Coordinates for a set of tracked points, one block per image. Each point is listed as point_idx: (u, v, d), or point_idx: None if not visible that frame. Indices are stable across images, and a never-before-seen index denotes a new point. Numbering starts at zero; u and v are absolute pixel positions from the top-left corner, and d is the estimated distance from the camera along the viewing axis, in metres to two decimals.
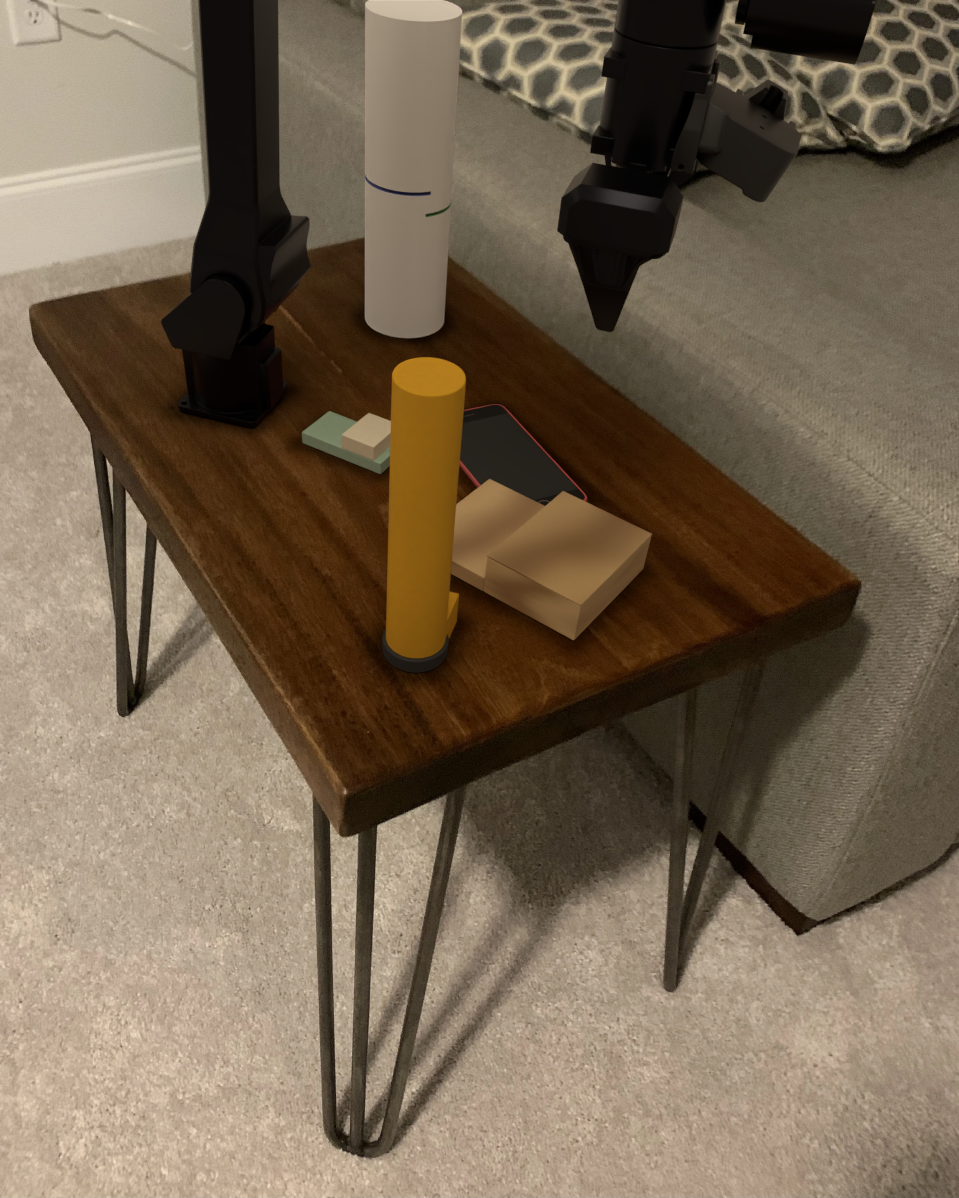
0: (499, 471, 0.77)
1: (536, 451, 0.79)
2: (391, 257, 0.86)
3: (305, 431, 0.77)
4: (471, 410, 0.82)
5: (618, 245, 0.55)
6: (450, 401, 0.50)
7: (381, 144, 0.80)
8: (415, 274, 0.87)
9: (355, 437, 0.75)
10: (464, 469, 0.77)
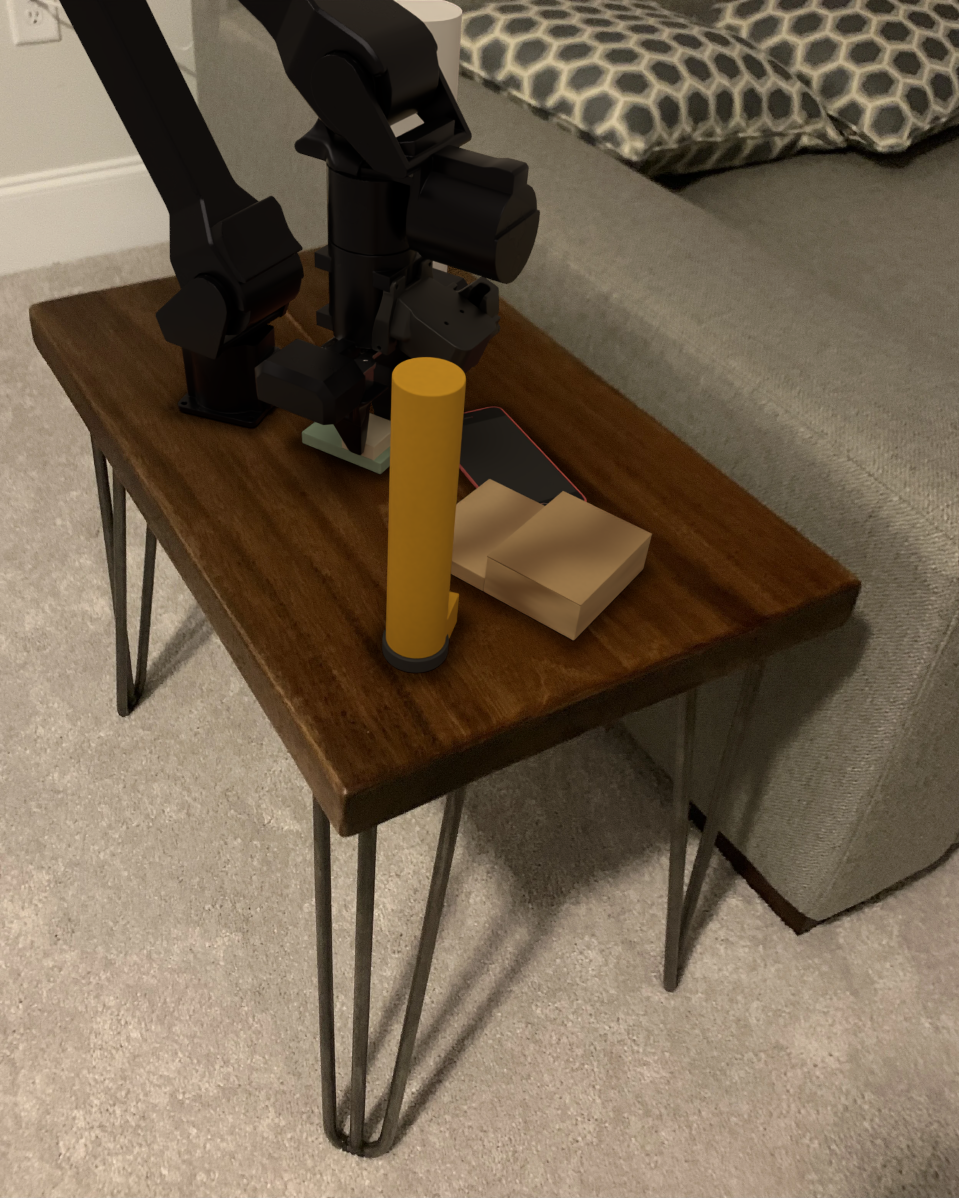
0: (498, 474, 0.77)
1: (535, 453, 0.79)
2: None
3: (305, 431, 0.77)
4: (469, 413, 0.82)
5: (295, 413, 0.65)
6: (450, 401, 0.50)
7: None
8: None
9: None
10: (463, 472, 0.77)
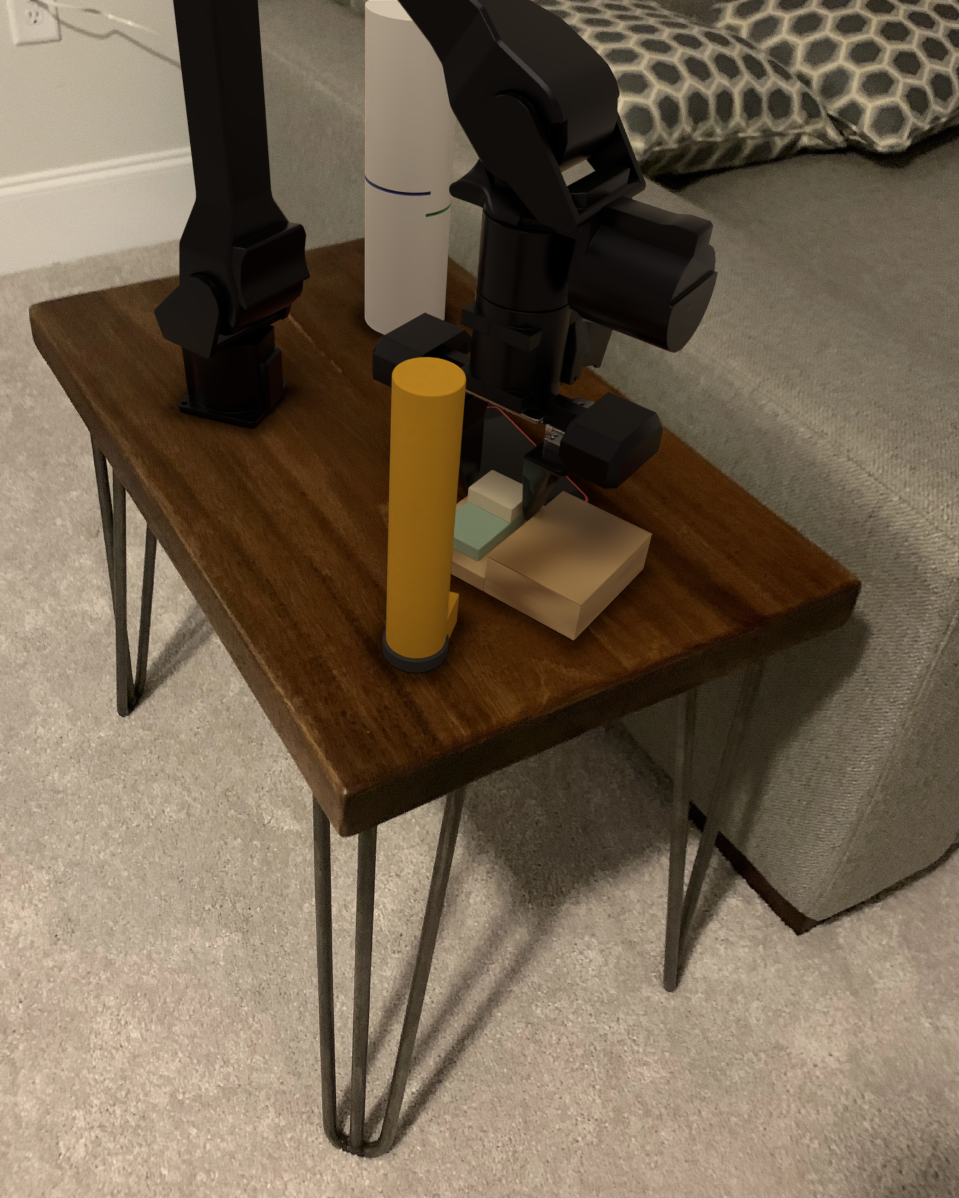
0: None
1: None
2: (391, 257, 0.86)
3: (478, 546, 0.67)
4: None
5: (641, 464, 0.62)
6: (450, 401, 0.50)
7: (381, 144, 0.80)
8: (415, 274, 0.87)
9: (518, 500, 0.69)
10: None
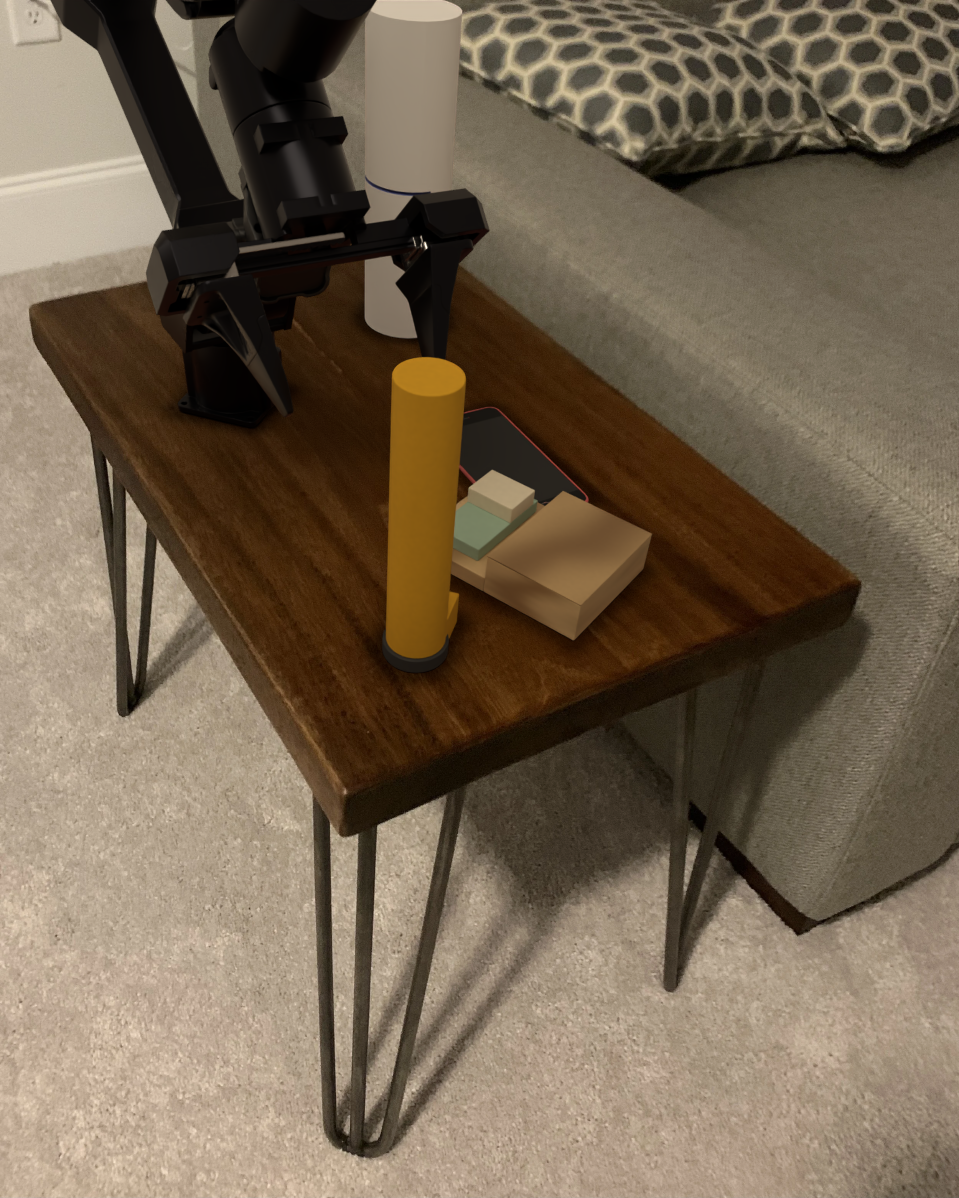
0: None
1: (534, 453, 0.79)
2: None
3: (478, 546, 0.67)
4: (466, 413, 0.82)
5: None
6: (450, 401, 0.50)
7: (381, 144, 0.80)
8: None
9: (518, 500, 0.69)
10: (464, 473, 0.77)
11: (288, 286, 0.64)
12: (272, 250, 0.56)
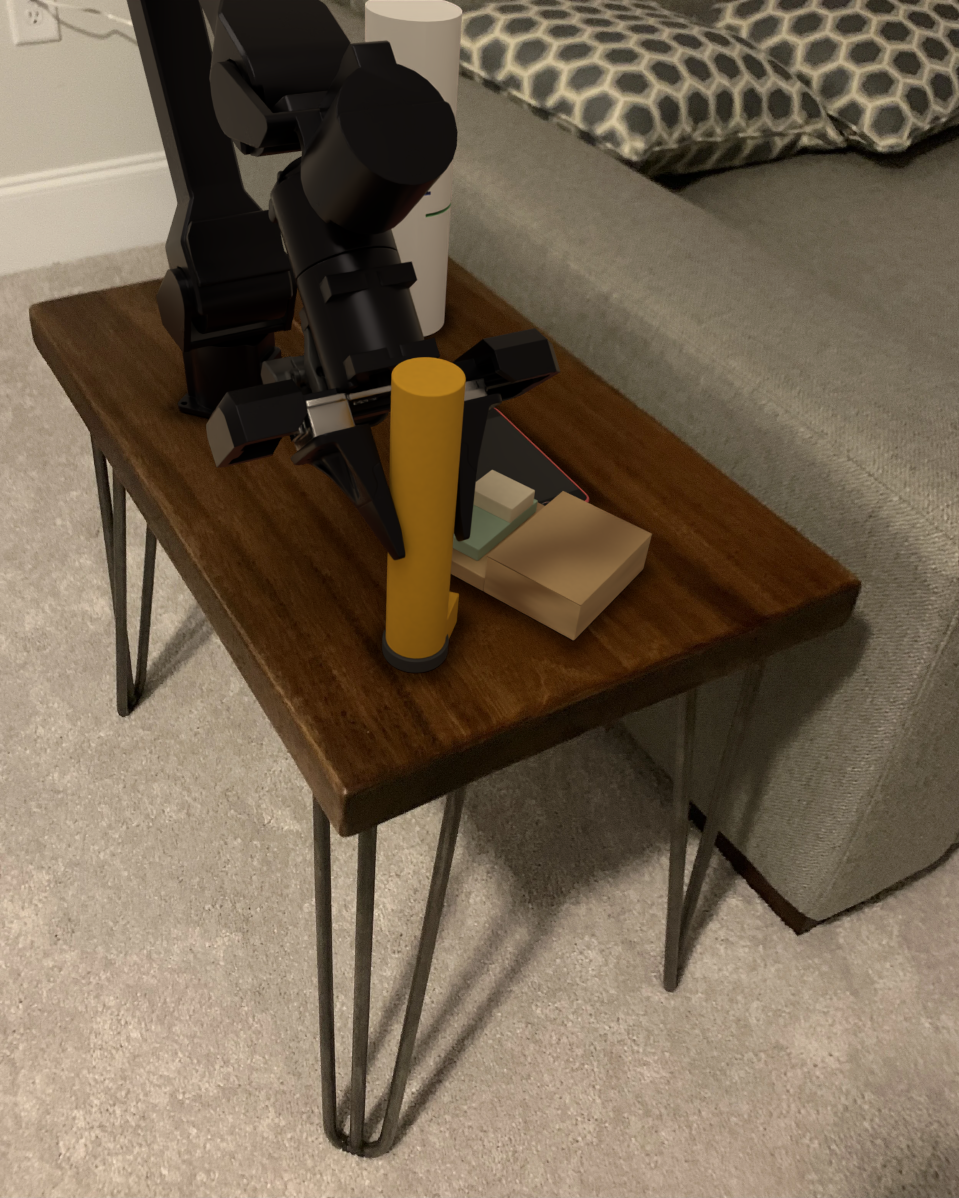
0: None
1: (534, 453, 0.79)
2: None
3: (478, 546, 0.67)
4: None
5: (536, 384, 0.60)
6: (450, 401, 0.50)
7: None
8: None
9: (518, 500, 0.69)
10: None
11: None
12: None
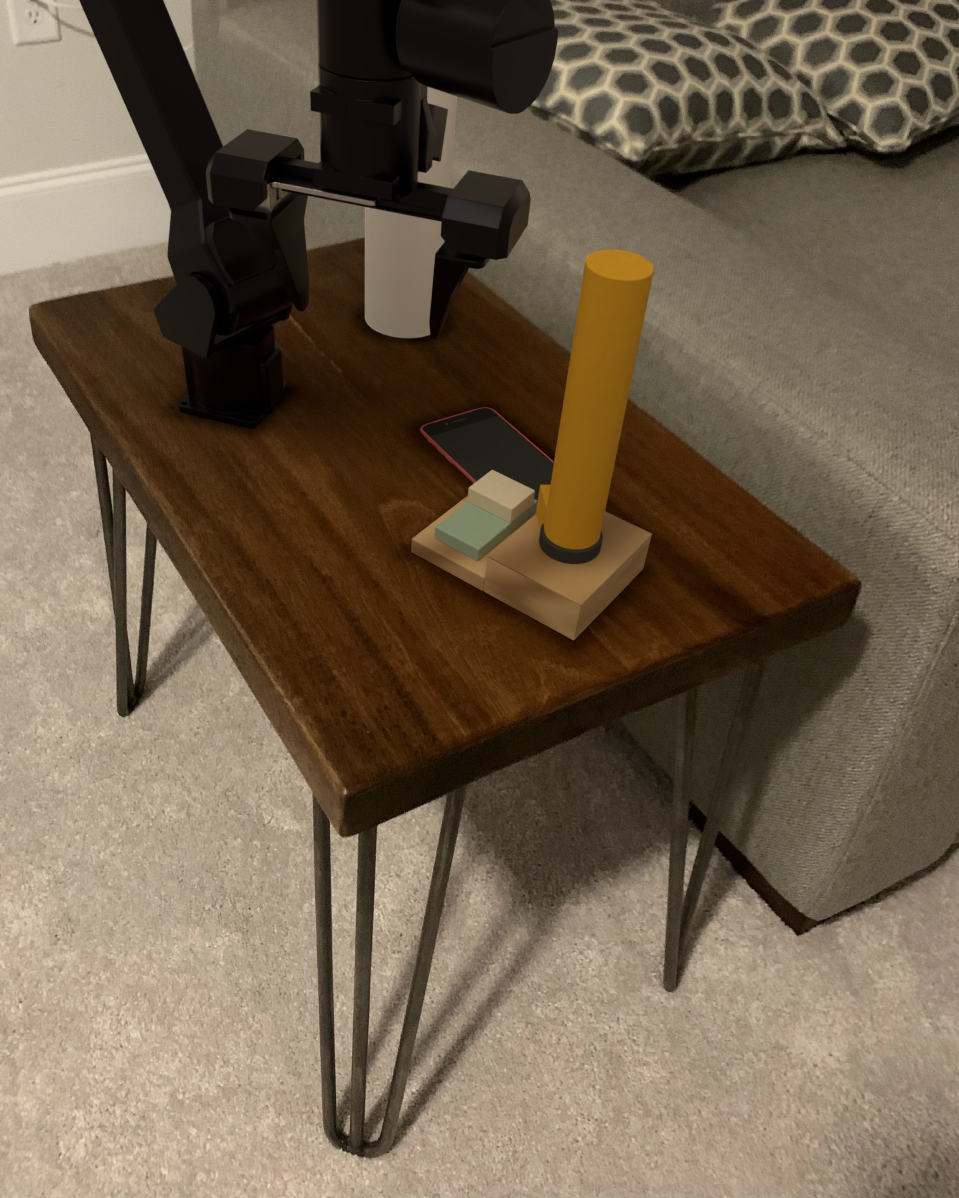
0: None
1: (533, 452, 0.79)
2: (391, 257, 0.86)
3: (478, 546, 0.67)
4: (461, 415, 0.82)
5: (519, 236, 0.62)
6: (649, 282, 0.54)
7: None
8: (415, 274, 0.87)
9: (518, 500, 0.69)
10: (465, 474, 0.77)
11: None
12: None
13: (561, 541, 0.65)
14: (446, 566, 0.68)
